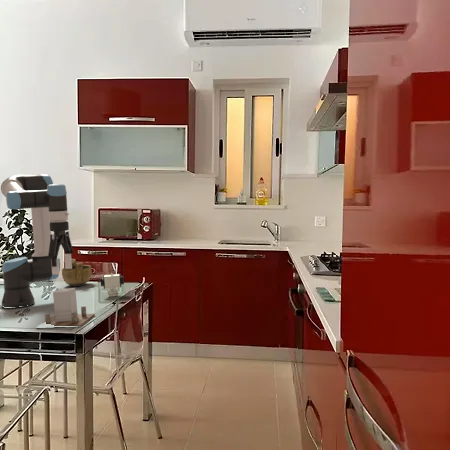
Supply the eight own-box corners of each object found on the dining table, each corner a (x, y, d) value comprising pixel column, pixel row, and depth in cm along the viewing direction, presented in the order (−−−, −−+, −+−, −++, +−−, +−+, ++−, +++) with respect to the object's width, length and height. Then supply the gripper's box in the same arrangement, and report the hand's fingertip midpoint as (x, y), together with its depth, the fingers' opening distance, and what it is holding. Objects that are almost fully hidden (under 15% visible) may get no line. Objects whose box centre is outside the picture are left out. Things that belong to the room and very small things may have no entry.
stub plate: (36, 329, 192) (35, 316, 192) (54, 317, 210) (53, 306, 210) (80, 327, 191) (79, 315, 191) (94, 315, 209) (94, 304, 208)
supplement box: (78, 316, 204) (76, 287, 203) (72, 321, 197) (70, 291, 196) (61, 317, 204) (58, 288, 204) (54, 322, 197) (52, 292, 196)
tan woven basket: (59, 284, 292) (57, 260, 291) (87, 280, 301) (86, 257, 300) (66, 290, 273) (64, 264, 272) (96, 286, 281) (94, 260, 280)
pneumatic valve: (124, 295, 249) (123, 272, 248) (101, 298, 246) (99, 274, 245) (124, 293, 254) (123, 271, 253) (101, 295, 251) (100, 273, 250)
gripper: (55, 223, 188) (59, 276, 190) (78, 218, 213) (81, 266, 214) (36, 224, 188) (40, 277, 190) (62, 219, 213) (65, 266, 215)
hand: (62, 271), depth 202 cm, fingers open, 13 cm apart
